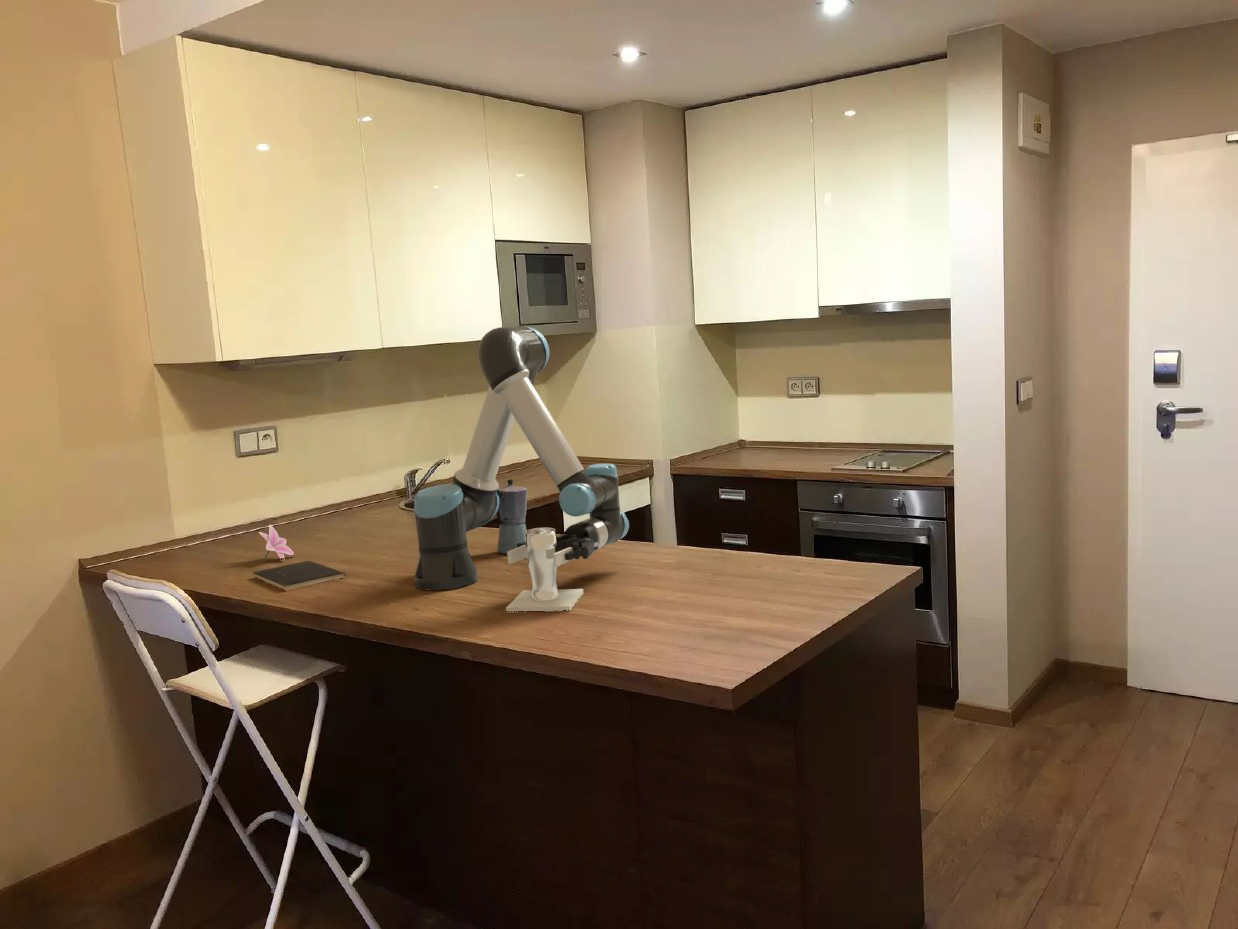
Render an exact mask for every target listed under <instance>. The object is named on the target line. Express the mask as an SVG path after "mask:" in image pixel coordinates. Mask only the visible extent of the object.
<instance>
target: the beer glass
mask: <svg viewBox="0 0 1238 929" xmlns="http://www.w3.org/2000/svg"><path fill="white" fill-rule="evenodd" d="M526 530H527V531H526V532H525V546H526V557H527V558H526V561H527V566H528V570H529V574H530V578H531V584H532V586H531V587H532V588H531V590H532V600H534V601H539V602H545V601H552V600H555V599H557V598H559V592H558V585H557V584H558V583H557V574H558V572H557V570H558V566H557V567H554V563H553V554H554V553H557V552H558V546H557V538H556V537H557V533H556V529H555V528H553V527H535V528H531V529H526Z"/></svg>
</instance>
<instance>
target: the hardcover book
mask: <svg viewBox="0 0 1238 929" xmlns="http://www.w3.org/2000/svg"><path fill="white" fill-rule="evenodd" d="M252 574H254V575H255V576H257V577H258V578H262V579H264V580H265V581H267V582H271V583H272V584H275V585H279V586H280V587H282V588H284V589H291V588H295V587H298V586H302V585H309V584H313V583H317V582H323V581H327V580H331V579H333V578H340V577H344V576H347V575H346V573H345V572H344V571H341V570H339V569H335V568H333V567H330V566H327V565H324V564H320V563H317V562H314V561H311V560H304V561H300V562H296V563H295V562H294V563H291V564H287V565H280V566H275V567H271V568H266V569H261V570H257V571H253V572H252ZM255 576H254V577H255Z"/></svg>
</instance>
